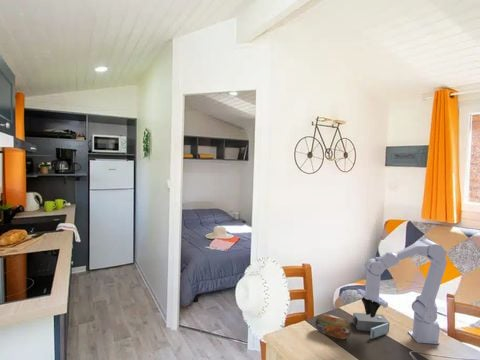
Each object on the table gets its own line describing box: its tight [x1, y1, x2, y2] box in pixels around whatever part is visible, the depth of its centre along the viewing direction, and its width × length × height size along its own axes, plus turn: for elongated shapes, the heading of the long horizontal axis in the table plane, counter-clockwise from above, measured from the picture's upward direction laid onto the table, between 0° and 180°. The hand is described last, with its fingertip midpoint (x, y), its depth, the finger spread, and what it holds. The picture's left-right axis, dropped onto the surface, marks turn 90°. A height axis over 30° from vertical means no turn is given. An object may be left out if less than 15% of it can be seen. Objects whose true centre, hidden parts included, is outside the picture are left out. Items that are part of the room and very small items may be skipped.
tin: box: [315, 313, 352, 340], centre depth 128 cm, size 15×3×8 cm, turn 62°
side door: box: [369, 323, 390, 339], centre depth 129 cm, size 11×1×4 cm, turn 118°
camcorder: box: [351, 312, 391, 333], centre depth 136 cm, size 15×7×5 cm, turn 88°
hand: (370, 315), depth 130 cm, fingers closed
